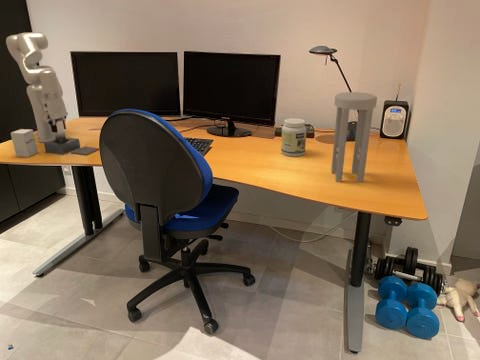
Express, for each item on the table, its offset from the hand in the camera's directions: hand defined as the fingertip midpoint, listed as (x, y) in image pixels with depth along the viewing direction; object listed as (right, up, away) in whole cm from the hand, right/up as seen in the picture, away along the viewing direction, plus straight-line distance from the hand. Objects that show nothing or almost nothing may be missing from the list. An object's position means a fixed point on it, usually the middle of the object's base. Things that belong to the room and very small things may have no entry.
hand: (59, 130), depth 195 cm
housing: (0, -10, +4) cm, 11 cm away
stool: (+140, -25, -32) cm, 146 cm away
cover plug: (0, -5, +2) cm, 6 cm away
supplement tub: (+121, -12, -4) cm, 122 cm away
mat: (+13, -11, +1) cm, 17 cm away
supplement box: (-15, -13, -2) cm, 20 cm away
